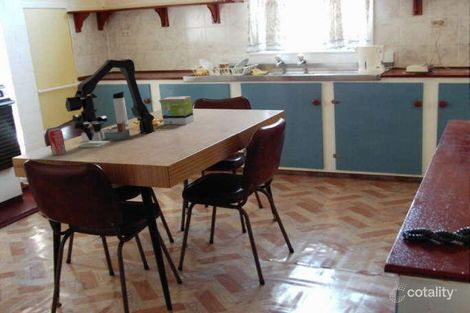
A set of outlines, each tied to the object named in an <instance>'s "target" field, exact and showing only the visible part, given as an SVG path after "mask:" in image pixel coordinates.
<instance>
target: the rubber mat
mask: <svg viewBox="0 0 470 313" xmlns="http://www.w3.org/2000/svg"><path fill="white" fill-rule="evenodd" d="M109 143H111V140H101V141H86V142H84V143H81V144H79V145H78V148H99V147H101V146H105V145H107V144H109Z"/></svg>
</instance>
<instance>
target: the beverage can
mask: <svg viewBox="0 0 470 313" xmlns="http://www.w3.org/2000/svg"><path fill="white" fill-rule="evenodd" d="M47 133H48V135H47V136H48V140H49V145H50V150H51V155H54V156H61V155H64V154H65V153H66V152H67V151H66V146H65V140H64V134H63V131H62V129H61V128H58V127H57V128H51V129H49V130H48V132H47Z"/></svg>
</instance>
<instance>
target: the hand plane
mask: <svg viewBox="0 0 470 313" xmlns="http://www.w3.org/2000/svg"><path fill="white" fill-rule="evenodd" d="M90 127H92V131H94V127H93V126H92V125H91V124H90ZM116 128H117V129H112V127H109V128H108V129H101V131H104V134H105V139H104V140H103V141H124V140H125V139H128V138H130V137H131V133H130V129H129V128H126V126H125V123H117V122H116Z"/></svg>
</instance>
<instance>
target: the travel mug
mask: <svg viewBox="0 0 470 313" xmlns="http://www.w3.org/2000/svg"><path fill="white" fill-rule="evenodd" d="M124 93H125V91H120V92H116V93H113V94H112V99H113V106H114V107H113V108H114V112H115V119H116V124H117V123H125V127H128V126H129V121H128V115H127V108H126V100H125V95H124Z"/></svg>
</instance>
